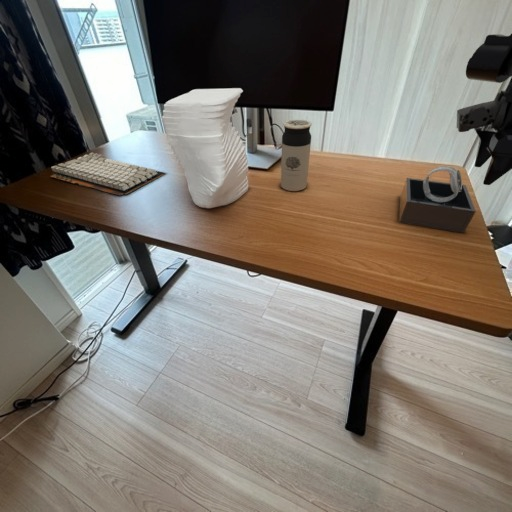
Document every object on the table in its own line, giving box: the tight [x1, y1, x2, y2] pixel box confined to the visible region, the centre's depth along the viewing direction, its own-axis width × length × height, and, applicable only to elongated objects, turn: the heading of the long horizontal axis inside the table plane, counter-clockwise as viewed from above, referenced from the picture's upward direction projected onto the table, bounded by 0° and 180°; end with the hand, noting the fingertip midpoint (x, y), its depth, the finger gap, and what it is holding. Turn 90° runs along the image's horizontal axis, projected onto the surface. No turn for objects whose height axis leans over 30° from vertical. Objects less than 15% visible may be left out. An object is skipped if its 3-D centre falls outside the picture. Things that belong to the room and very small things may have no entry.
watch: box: [423, 165, 463, 205], centre depth 65 cm, size 6×8×11 cm
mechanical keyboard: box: [50, 152, 167, 196], centre depth 93 cm, size 38×19×3 cm, turn 63°
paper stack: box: [161, 87, 250, 209], centre depth 72 cm, size 21×27×26 cm
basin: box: [399, 177, 477, 234], centre depth 67 cm, size 14×14×6 cm
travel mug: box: [280, 119, 313, 192], centre depth 77 cm, size 8×8×18 cm
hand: (481, 175), depth 55 cm, fingers open, 9 cm apart
